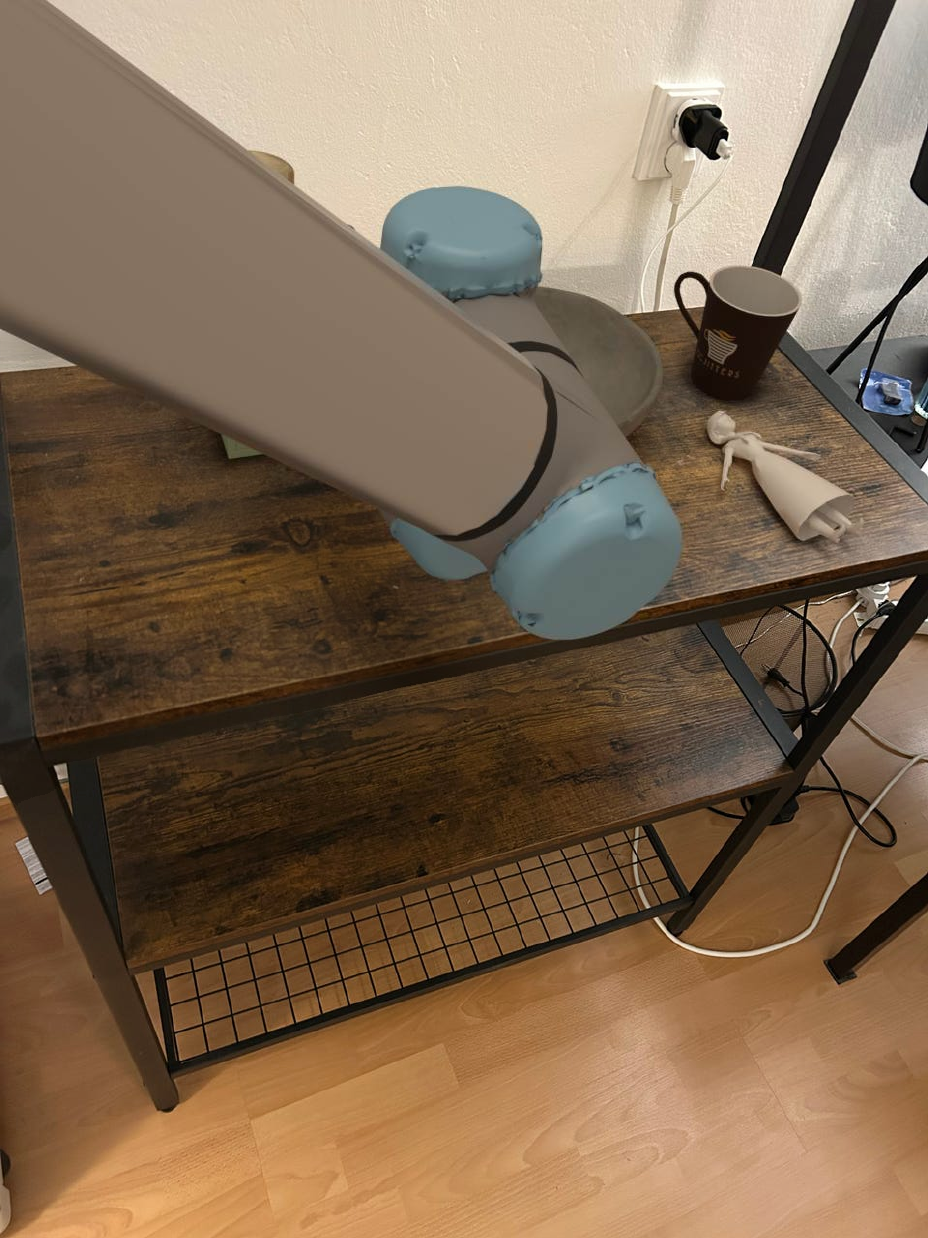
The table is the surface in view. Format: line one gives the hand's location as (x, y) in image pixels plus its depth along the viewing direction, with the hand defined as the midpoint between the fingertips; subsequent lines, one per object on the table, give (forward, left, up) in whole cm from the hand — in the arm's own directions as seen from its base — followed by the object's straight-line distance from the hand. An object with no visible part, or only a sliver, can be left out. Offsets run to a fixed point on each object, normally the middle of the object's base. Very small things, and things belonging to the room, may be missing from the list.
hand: (226, 206), depth 72 cm
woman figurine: (+43, -21, -18) cm, 51 cm away
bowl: (+25, -8, -18) cm, 32 cm away
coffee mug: (+47, -4, -18) cm, 50 cm away
